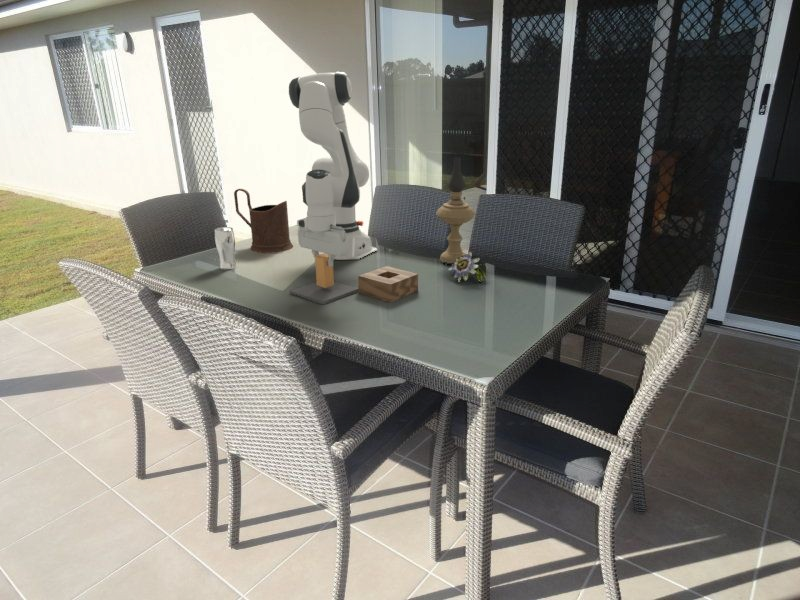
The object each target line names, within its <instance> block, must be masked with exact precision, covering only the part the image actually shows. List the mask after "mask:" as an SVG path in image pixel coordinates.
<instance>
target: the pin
mask: <svg viewBox="0 0 800 600" xmlns="http://www.w3.org/2000/svg"><path fill="white" fill-rule="evenodd" d="M328 260H329V257H328V254H326V253H322V254H319V255H318V256H315V258H314V263H315V265H314V266H315V278H316V282H317V286H321V287H324V288H326V287H329V286H332V285H334V282H335V281H334V279H335V278H334V265H333V266H331V267H329V266H327V265H326V264H327V263H326V261H328Z"/></svg>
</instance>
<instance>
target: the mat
mask: <svg viewBox="0 0 800 600" xmlns="http://www.w3.org/2000/svg"><path fill="white" fill-rule="evenodd" d="M289 293H290V295H293V294H294V295H293V296H296V295H297V296H296V297H299V296H300V297H299V298H302V297H303V298H302V299H305V298H306V299H305V300H308V301H311V300H312V301H311V302H314V303H318V304H319V305H322V306H323V305H326V304H328V303H331V302H334V301H337V300H340V299H342V298H345V297H348V296H350V295H353V294H355V293H359V287H354V286H351V285H348V284H344V283H341V282H337V281H334V285H332V286H329V287H326V288H324V287H321V286H317V281H316V282H313V283H309V284H307V285H303V286H301V287H297V288H295V289H291V290H289Z"/></svg>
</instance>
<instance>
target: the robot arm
mask: <svg viewBox="0 0 800 600" xmlns="http://www.w3.org/2000/svg"><path fill="white" fill-rule="evenodd" d="M349 77H350V76H349V75H348V74H346V72H344V71H335V72H318V73H315V74H309V75H306V76H302V77H301V76H297V77H295V78H293V79H291V81H290V82H289V85H288V96H289V99H290V102H291V105H293V107H295V108H296V109H298V117H299V127H300V128H299V129H300V131H301V133H302V135H303V136H304V137H305V139H307V140H308V141H310V142H312V143H314V144H316V145H318V146H321V147H322V148H323V150H325V151H326V152H327V154H329V156H330V157H326V156H325V157H321V158H317V159H316V160H315V161H314V162H313V164H312V166H311V170H309V171H308V172H307V173H306V175H305V176H306V177H305V182H304V183H303V184H302V185H301V189H302V190H301V191H302V203H304V205H306V206H307V211H306V217H304V218H301V219H297V221H296V225H297V228H298V229H297V238H298V239H297V240H298V245H299V246H300V247H301V248H304V249H308V250H311V253H312V255H313V257H314V259H315V256H318V255H320V253H322V254H328V257H329V260H328V261H326V263H327V264H326V265H327V266H329V267H331V266H333V267H334V260H338V261H339V260H341V261H342V260H343V261H345V260H361V259H363V258H362V257H364V256H366V255H368V254H370V253H372V252H375V251H377V252H378V248H377V247H376V246H372V245H373V244H372V238H371V237H370V236H369V235H368V234H366V233H365V232H363V231H362V230H361V229H360V227H363V226H364V221H363V220H358V221H357V219H356V218H357V217H356V215H357V214H356V205H357V203H359V202H360V198H361V190H360V188H362V187H364V186H365V185H366V184H367V183H368V181H369V179H370V170H369V166H368V165H367V163H366V162H364V161H363V160H362V159H361V158H360V157H359V156H358V155H357V153H356V151H355V149H354V147H353V146H352V142H351V139H350V137H349V131H348V127H347V121H346V115H345V111H344V106H345V104H347V103H348V102H349V101H350V100H351V98H352V92H353V87H352V86H353V85H352V83H351V82H352V81H351V80H350V78H349ZM359 226H360V227H359ZM375 253H376V252H375ZM372 254H373V253H372ZM370 255H371V254H370ZM368 256H369V255H368ZM366 257H367V256H366ZM360 258H361V259H360ZM364 258H365V257H364Z"/></svg>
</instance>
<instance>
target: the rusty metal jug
mask: <svg viewBox="0 0 800 600" xmlns="http://www.w3.org/2000/svg"><path fill="white" fill-rule="evenodd" d="M240 191H241V192H242V193H244V194H245V195H246V200H247V206H248V211H249V220H248V219H247V218H246V217H245V216H244V215H243V214H242V213H241V211H240V210H239V209H240V208H239V201H238V192H240ZM233 195H234V196H233V197H234V204H235V212H236V214H237V215H238V216H239V217H240V218H241V219H242V220H243V221H244V222H245V223H246V225H248V227H250V230H251V240H252V242H251V245H250V247H249V249H250V251H252V252H254V253H258V254H259V253H260V254H275V253H276V254H277V253H282V252H286V251H290V250H291V249H293V248H294V245H293V243H292V242H291V241H292V240H291V239H290V229H289V228H290V227H289V214H288V213H289V212H288V201H287V200H284V201H282V202H280V203H278V204H266V205H265V204H264V205H261V206H256V207H253V208H252V205H251V196H250V193H249V191H248V190H246V189H244V188H237V189H236V190H234V191H233Z"/></svg>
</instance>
